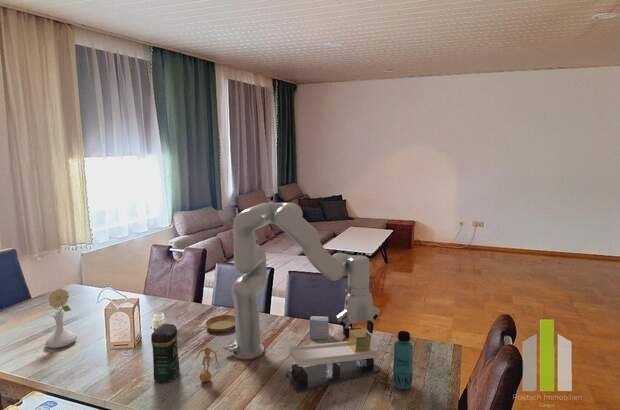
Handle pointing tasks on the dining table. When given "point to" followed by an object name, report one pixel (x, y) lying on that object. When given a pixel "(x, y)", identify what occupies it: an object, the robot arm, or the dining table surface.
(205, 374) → the figurine
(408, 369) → the beverage bottle
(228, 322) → the plant saucer
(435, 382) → the dining table surface
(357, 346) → the block
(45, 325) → the dining table surface
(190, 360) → the dining table surface
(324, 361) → the beam
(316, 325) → the medicine box
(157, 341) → the coffee jar
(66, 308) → the flower in vase
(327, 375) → the seesaw stand
